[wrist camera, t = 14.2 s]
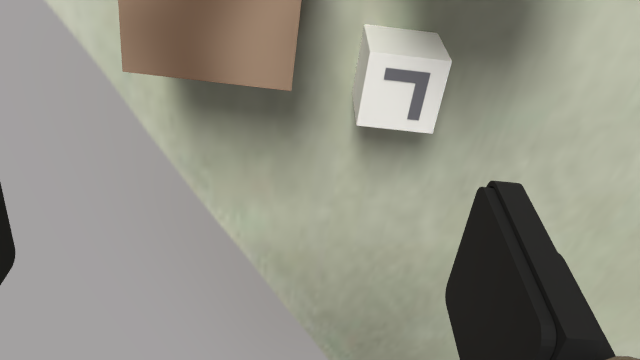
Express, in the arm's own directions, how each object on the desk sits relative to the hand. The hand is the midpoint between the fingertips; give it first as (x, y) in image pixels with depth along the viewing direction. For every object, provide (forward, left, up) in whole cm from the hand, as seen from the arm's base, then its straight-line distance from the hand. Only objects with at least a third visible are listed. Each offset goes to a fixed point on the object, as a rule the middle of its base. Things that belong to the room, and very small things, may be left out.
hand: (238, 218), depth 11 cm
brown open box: (+3, +1, -21) cm, 21 cm away
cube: (-7, +3, -21) cm, 23 cm away
